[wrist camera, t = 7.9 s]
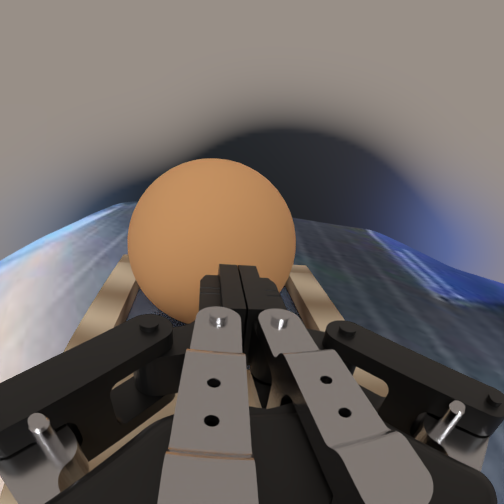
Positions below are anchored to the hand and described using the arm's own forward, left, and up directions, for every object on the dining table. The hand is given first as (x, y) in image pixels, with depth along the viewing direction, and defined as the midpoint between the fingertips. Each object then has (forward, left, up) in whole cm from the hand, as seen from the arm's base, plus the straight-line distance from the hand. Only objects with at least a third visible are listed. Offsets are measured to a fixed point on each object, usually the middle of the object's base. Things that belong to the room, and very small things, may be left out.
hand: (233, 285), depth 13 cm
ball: (-4, -9, -2) cm, 10 cm away
